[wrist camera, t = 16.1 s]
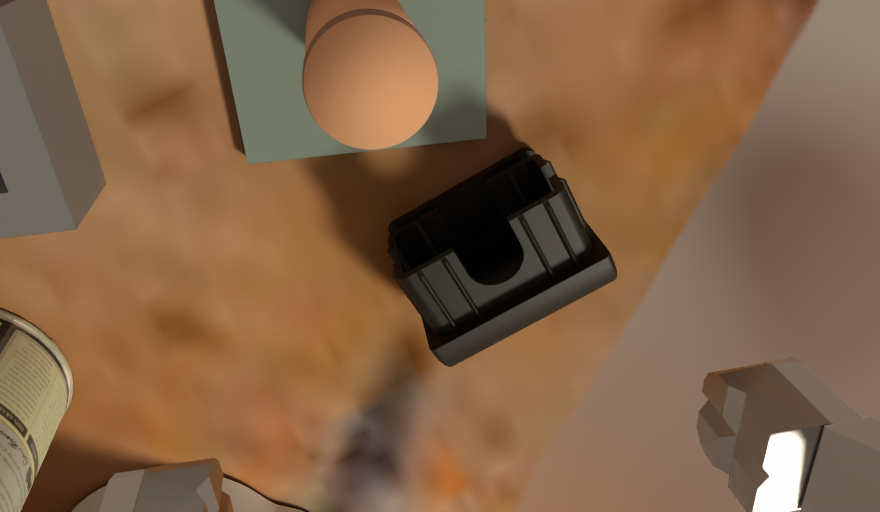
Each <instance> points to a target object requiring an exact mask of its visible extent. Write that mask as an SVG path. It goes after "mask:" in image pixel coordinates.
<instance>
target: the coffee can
mask: <svg viewBox="0 0 880 512" xmlns="http://www.w3.org/2000/svg"><path fill="white" fill-rule="evenodd" d="M72 394H73V378H72V374H71V370H70V367H69V364H68V362H67V360H66V358H65V357H64V355H63V353H62V352H61V351H60V350H59V348H58V347H57V345H56V344H55V343H54V342H53V341H52V340H51V339H49V338H48V337H47V336H46V335H45V334H44V333H43V332H42V331H41V330H39V329H37V328H36V327H35V326H33V325H32V324H31V323H29V322H27V321H26V320H24V319H21V318H19V317H18V316H16V315H13V314H11V313H9V312H6V311H3V310H0V512H21V510H22V507H23V505H24V503H25V500H26V498H27V496H28V494H29V492H30V490H31V487H32V485H33V482H34V480H35V478H36V476H37V473H38V471H39V469H40V467H41V464H42V462H43V460H44V458H45V455H46V453H47V451H48V448H49V446H50V443H51V441H52V439H53V437H54V435H55V432H56V430H57V428H58V425H59V423H60V421H61V418H62V417H63V415H64V414H65V412H66V410H67V408H68V406H69V404H70V402H71V399H72Z"/></svg>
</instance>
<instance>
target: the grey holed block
mask: <svg viewBox="0 0 880 512" xmlns="http://www.w3.org/2000/svg"><path fill="white" fill-rule="evenodd" d="M105 184H106V182H105V179H104V176H103V172H102V169H101V166H100V163H99V160H98V157H97V154H96V151H95V148H94V145H93V142H92V139H91V136H90V133H89V130H88V127H87V124H86V121H85V118H84V115H83V111H82V108H81V105H80V102H79V99H78V96H77V93H76V90H75V87H74V84H73V81H72V78H71V75H70V72H69V69H68V66H67V63H66V60H65V57H64V54H63V50H62V47H61V44H60V41H59V38H58V35H57V32H56V29H55V26H54V23H53V20H52V17H51V14H50V11H49V8H48V5H47V2H46V0H0V239H1V238H9V237H18V236H26V235H35V234H44V233H52V232H61V231H69V230H76V229H77V227H78V226H79V224H80V223H81V221H82V220H83V218H84V216H85V215H86V213H87V212H88V210H89V209H90V207H91V206H92V204H93V203H94V201H95V200H96V198H97V196H98V195H99V193H100V192H101V190H102V189H103V187H104V186H105Z"/></svg>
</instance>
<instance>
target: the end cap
mask: <svg viewBox="0 0 880 512" xmlns="http://www.w3.org/2000/svg"><path fill="white" fill-rule="evenodd" d="M389 233H390V237H389V239H388V243H389V248H388V254H389V255H390V257H391V258H392V260H393V261H394V262H395V264H393V266H394V270H393V277H394V278H395V280H396V281H397V283H398V284H399V285H400V287H401V288H402V290H403V291H404V293H405V294H406V295H407V297H408V298H409V300H410V301H411V303H412V304H413V305H414V307H415V308H416V310H417V311H418V313H419V314H420V315H421V317H422V320H423V324H424V328H425V332H426V336H427V340H428V344H429V348H430V350H431V351H432V353H433V354H434V355H435V356H436V357H437V359H438V360H439V361H440V362H441V363H443V364H444V365H446V366H448V367H452V366H454V365H456V364H458V363H460V362H461V361H463V360H465V359H467V358H469V357H471V356H473V355H475V354H476V353H478V352H480V351H482V350H484V349H486V348H488V347H490V346H492V345H493V344H495V343H497V342H499V341H501V340H503V339H505V338H507V337H508V336H510V335H512V334H514V333H516V332H518V331H520V330H522V329H523V328H525V327H527V326H529V325H531V324H533V323H535V322H537V321H539V320H540V319H542V318H544V317H546V316H548V315H550V314H552V313H554V312H555V311H557V310H559V309H561V308H563V307H565V306H567V305H569V304H571V303H572V302H574V301H576V300H578V299H580V298H582V297H584V296H586V295H587V294H589V293H591V292H593V291H595V290H597V289H599V288H601V287H603V286H604V285H606V284H608V283H610V282H612V281H614V280H615V279H616V278H617V270H616V266H615V263H614V261H613V258H612V256H611V254H610V252H609V250H608V249H607V248H606V247H605V245H604V244H603V243H602V242H601V240H600V239H599V238H598V236H597V235H596V234H595V233H594V231H593V230H592V229H591V228H590V226H589V225H588V224H587V223H586V221H585V220H584V218H583V216H582V214H581V212H580V210H579V208H578V205H577V203H576V201H575V199H574V197H573V195H572V193H571V191H570V188H569V186H568V184H567V182H566V180H565V179H563V178H559V177H558V176H557V174H556V172H555V170H554V168H553V166H552V164H551V162H550V161H548V160H544V159H543V158H542V157H541V156H540V155H538V154H536V153H535V152H534V151H533V150H532V149H531V148H527V147H526V148H522V149H520V150H518V151H516V152H515V153H513V154H511V155H509V156H508V157H506V158H504V159H502V160H501V161H499V162H497V163H495V164H493V165H492V166H490V167H488V168H486V169H485V170H483V171H481V172H479V173H477V174H476V175H474V176H472V177H470V178H469V179H467V180H465V181H463V182H461V183H460V184H458V185H456V186H454V187H453V188H451V189H449V190H447V191H446V192H444V193H442V194H440V195H438V196H437V197H435V198H433V199H431V200H430V201H428V202H426V203H424V204H422V205H421V206H419V207H417V208H415V209H414V210H412V211H410V212H408V213H406V214H405V215H403V216H401V217H399V218H398V219H396V220H394V221H393V222H392V223H391V224H390V226H389Z"/></svg>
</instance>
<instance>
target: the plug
mask: <svg viewBox="0 0 880 512" xmlns="http://www.w3.org/2000/svg"><path fill="white" fill-rule="evenodd" d="M438 87H439V77H438V69H437V65H436V61H435V58H434V56H433V53H432V51H431V49H430V48H429V46H428V44H427V43H426V41H425V39H424V38H423V37H422V35H421V34H420V33H419V32H418V31H417V29H416V28H415V27H414V25H413V23H412V22H411V20H410V19H409V17H408V16H407V14H406V12H405V11H404V9H403V8H402V6H401V5H400V3H399V1H398V0H311V2H310V5H309V8H308V12H307V22H306V42H305V57H304V63H303V71H302V88H303V94H304V99H305V102H306V105H307V107H308V109H309V111H310V113H311V115H312V117H313V118H314V120H315V121H316V122H317V124H318V125H319V126H320V127H321V128H322V129H323V130H324V131H325V132H326V133H327V134H329V135H330V136H331V137H333V138H334V139H336V140H337V141H339V142H341V143H343V144H345V145H348V146H351V147H354V148H359V149H368V150H374V149H383V148H388V147H391V146H395V145H397V144H399V143H402V142H403V141H405V140H407V139H408V138H410V137H411V136H412V135H414V134H415V133H416V132H417V131H418V130H419V129H420V128H421V127H422V126H423V125H424V123H425V122H426V121H427V119H428V118H429V116H430V114H431V112H432V110H433V107H434V105H435V102H436V98H437V94H438Z"/></svg>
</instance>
